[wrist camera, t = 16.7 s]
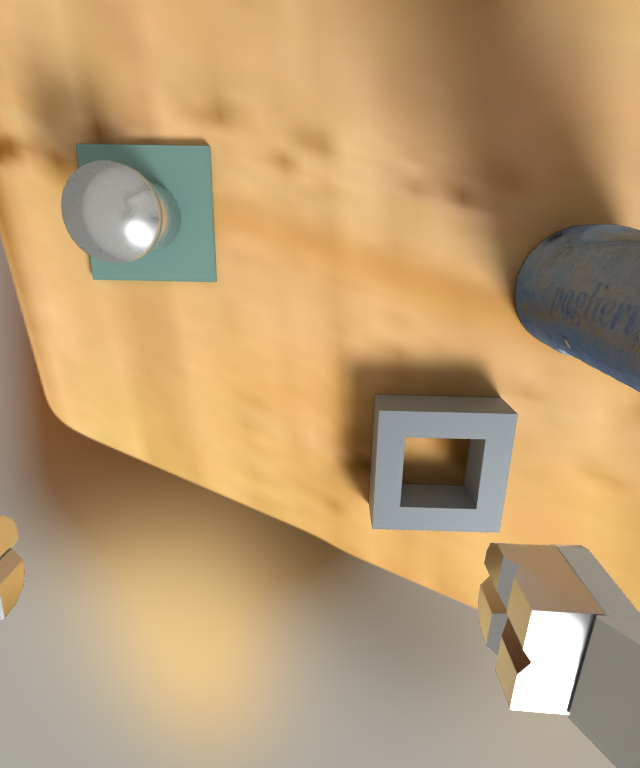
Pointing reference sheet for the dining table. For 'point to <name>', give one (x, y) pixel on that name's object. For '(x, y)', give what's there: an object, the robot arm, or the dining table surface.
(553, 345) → the bottle
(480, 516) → the housing
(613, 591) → the robot arm
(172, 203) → the end cover
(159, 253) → the mat
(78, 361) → the dining table surface
